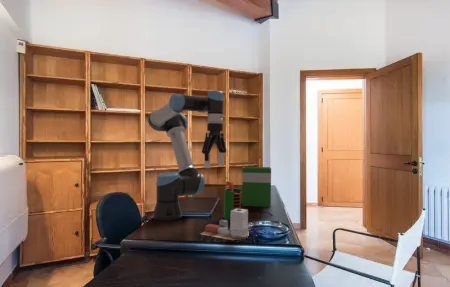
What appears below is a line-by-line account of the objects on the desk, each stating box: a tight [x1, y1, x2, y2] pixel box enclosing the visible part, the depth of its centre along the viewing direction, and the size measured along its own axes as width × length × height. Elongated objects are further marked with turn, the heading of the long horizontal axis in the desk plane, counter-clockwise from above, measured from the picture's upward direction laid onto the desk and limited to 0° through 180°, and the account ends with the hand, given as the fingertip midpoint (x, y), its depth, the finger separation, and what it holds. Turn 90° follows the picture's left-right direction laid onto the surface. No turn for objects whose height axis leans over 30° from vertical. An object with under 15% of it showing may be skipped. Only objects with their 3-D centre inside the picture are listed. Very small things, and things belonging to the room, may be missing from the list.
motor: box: [223, 180, 242, 221], centre depth 154 cm, size 10×9×20 cm
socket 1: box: [218, 219, 229, 228], centre depth 134 cm, size 4×4×4 cm
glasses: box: [241, 206, 274, 216], centre depth 167 cm, size 14×16×5 cm
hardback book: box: [241, 166, 272, 208], centre depth 189 cm, size 18×7×24 cm, turn 85°
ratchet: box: [204, 223, 250, 240], centre depth 128 cm, size 20×8×7 cm, turn 63°
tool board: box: [200, 231, 238, 241], centre depth 128 cm, size 24×13×1 cm, turn 63°
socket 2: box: [229, 208, 249, 232], centre depth 125 cm, size 6×6×8 cm
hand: (214, 166), depth 144 cm, fingers open, 13 cm apart
